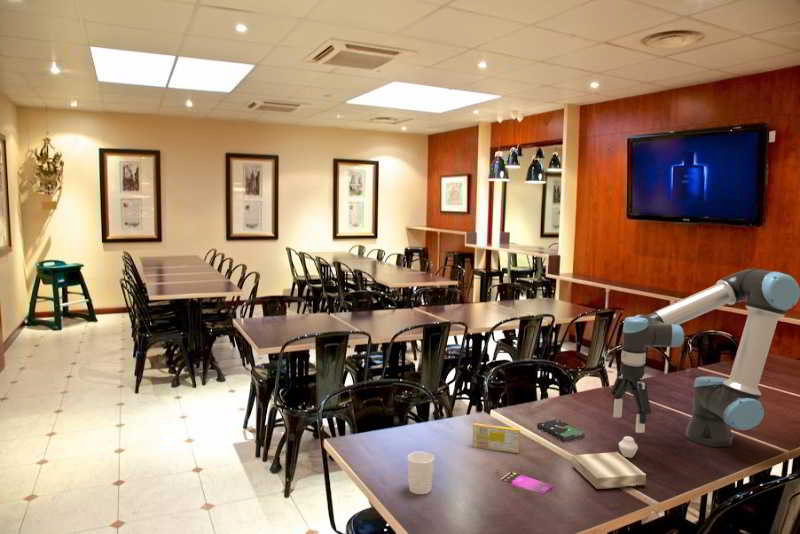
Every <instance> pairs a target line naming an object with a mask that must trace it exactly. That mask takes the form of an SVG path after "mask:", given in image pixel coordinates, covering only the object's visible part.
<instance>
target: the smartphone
mask: <svg viewBox="0 0 800 534" xmlns="http://www.w3.org/2000/svg"><path fill="white" fill-rule="evenodd" d="M499 480H500V481H503V482H506V483H509V484H511V485H514V486H517V487H518V488H519V487H520V488H522V487H523V489H525V490H527V491H528V490H529V491H531V492H533V491H535V492H534V493H536V492H537V494H539V495H542V494H543V495H542V496H545V495H546V494H547V493H548V492H549V491H550V490H552V489H553V488H554V485H553V484H549V483H546V482H544V481H541V480H537V479H535V478H531V477H529V476H525V475H523V474H520V473H517V472H513V471H508V472H507V473H505V474H504V475H502V476H501V477H500V478H499ZM551 488H552V489H551Z"/></svg>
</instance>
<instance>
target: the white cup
mask: <svg viewBox="0 0 800 534" xmlns="http://www.w3.org/2000/svg"><path fill="white" fill-rule="evenodd" d="M406 459H407V461H406V463H407V480H408V481H407V482H408V491H409V492H411V493H412V494H415V495H426V494H428V493H430V492H431V491H432V489H433V488H432V487H433V486H432V485H433V478H434V476H433V475H434V465H435V463H434V462H435V457H434V455H433V454H432V453H429V452H427V451H413V452H411V453H409V454H408V455H407V457H406Z"/></svg>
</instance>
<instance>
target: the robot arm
mask: <svg viewBox="0 0 800 534" xmlns="http://www.w3.org/2000/svg"><path fill="white" fill-rule="evenodd" d="M799 299H800V286H799V283H797V281H796V279H795V278H793V277H792V276H791V275H789V274H786V273H782V272H780V271H771V270H765V269H759V268H748V269H743V270H741V271H737V272H735V273H733V274H732V273H731V274H729V275H728V276H725V277H723V278H721V279H719V280H717V281H716V283H715V284H714V285H712V286H710V287H707V288H705V289H703V290H701V291H698V292H696V293H694V294H691V295H690V296H687V297H685V298H683V299H681V300H678V301H676V302H674V303H672V304H670V305H668V306H665V307H663V308H661V309H658V310H656V311H652V312H651V313H649V314H646V315H645V314H637V315H635V316H627V317H626V318H624V321H623V327H622V345H621V355H620V356H621V357H620V358H621V359H620V361H621V362H620V370H619V371H617V373H616V379H615V380H614V383H613V386H612V388H611V390H610V395H612V396H613V398H614V401H613V402H614V403H613V414H612V417H613V418H622V416H623V403H624V395H625V394H626V392H627V391H629V392H630V393H631V395H632V396H633V399H634V402H635V405H636V408H637V412H636V420H635V433H636V434H638V433H640V434H641V433H645V428H646V427H645V425H646V421H647V415H649V414H650V415H651V414H652V409H651V404H650V399H649V393H648V383H647V382H642V380H641V379H642V377H644V376H645V364H646V357H647V354H646V353H647V347H657V348H658V347H661V348H678V347H680V346H682V344H684V340H685V333H684V329H683V327H682V326H681V325H682V324H683V323H686V322H688V321H690V320H693V319H695V318H698V317H699V316H701V315H704V314H707V313H709V312H711V311H713V310H717V309H718V308H720V307H722V306H725V305H729V306H731V305H734V304H737V303H741V302H745V308H746V309H747V311H748V314H747V318H746V321H745V325H744V327H743V331H742V333H741V334H742V335H741V338H740V341H739V345H738V348H737V351H736V355H735V357H734V361H733V364H732V368H731V372H730V374H729V378H725V377H719V376H718V377H717V376H698V377H696V378H695V379H694V382H693V383H694V385H693V401H692V411H691V412H692V414H691V418H690V419H689V422H688V425H687V426H686V429H685V437H686V438H687V439H688V440H689V441H692V442H694V443H697V444H699V445H703V446H707V447H714V448H725V447H730V446H732V445H733V434H732V430H731V428H733V429H736V430H738V431H739V430H740V431H748V430H751V429H753V428H755V427H756V426H758V425H759V424H760V423H761V422H762V420H763V418H764V415H765V410H764V407H763V405H762V403H761V402H760V401H761V395H762V392H761V391H760V389H759V384H760V380H761V378H762V374H763V371H764V368H765V364H766V361H767V357H768V354H769V351H770V348H771V344H772V342H773V337H774V334H775V331H776V328H777V324H778V321H779V319H782V318H784V317H785V316H786V313H787V310H790V309H792V308H793V306H796V305H797V303H798V302H799Z"/></svg>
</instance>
